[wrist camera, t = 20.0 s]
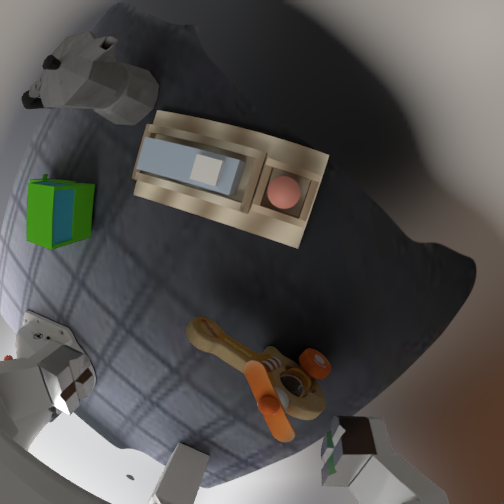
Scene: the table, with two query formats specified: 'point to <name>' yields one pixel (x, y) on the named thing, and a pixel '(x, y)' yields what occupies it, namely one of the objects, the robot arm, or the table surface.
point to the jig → (252, 181)
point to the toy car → (58, 212)
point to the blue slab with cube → (191, 165)
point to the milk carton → (180, 477)
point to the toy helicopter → (269, 376)
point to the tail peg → (283, 192)
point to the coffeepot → (93, 81)
